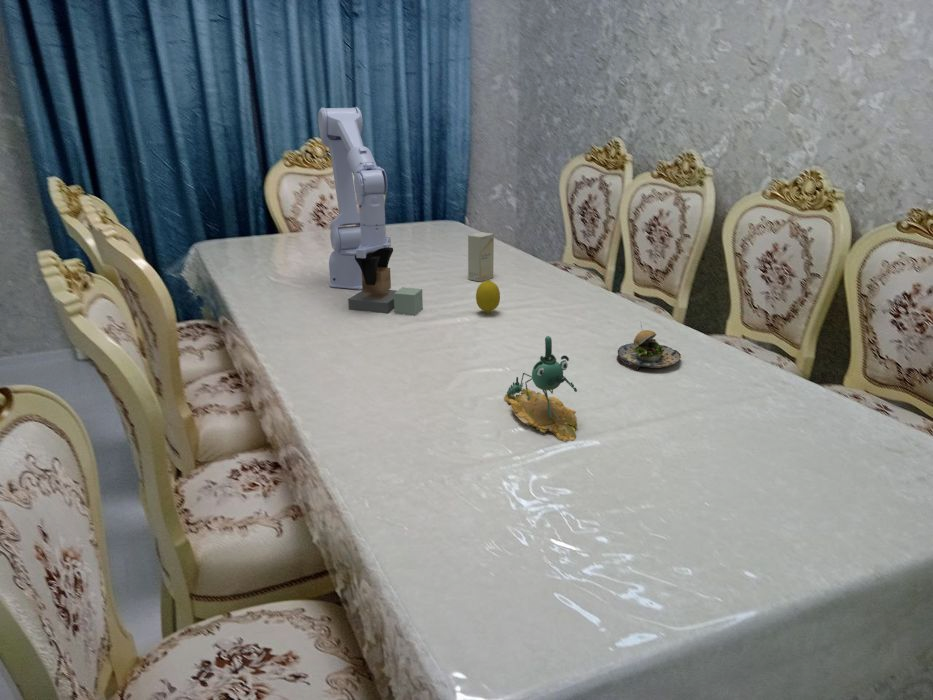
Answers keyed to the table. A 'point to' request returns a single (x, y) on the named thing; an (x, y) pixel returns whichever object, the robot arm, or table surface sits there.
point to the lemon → (488, 296)
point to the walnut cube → (379, 282)
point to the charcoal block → (372, 302)
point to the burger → (646, 353)
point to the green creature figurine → (544, 398)
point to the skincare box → (480, 256)
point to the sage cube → (408, 301)
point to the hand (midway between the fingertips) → (375, 281)
